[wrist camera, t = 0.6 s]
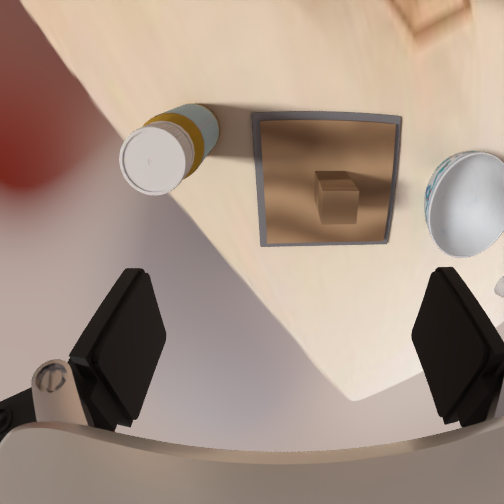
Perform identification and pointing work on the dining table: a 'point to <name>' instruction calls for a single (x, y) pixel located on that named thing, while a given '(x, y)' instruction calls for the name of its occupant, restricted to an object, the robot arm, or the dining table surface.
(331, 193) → the cover
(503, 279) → the chalice
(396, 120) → the mat
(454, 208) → the chinaware
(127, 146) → the bottle
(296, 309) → the dining table surface
